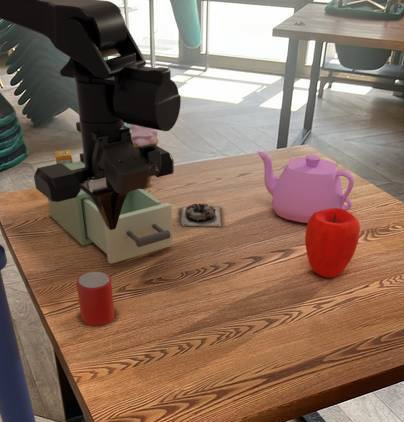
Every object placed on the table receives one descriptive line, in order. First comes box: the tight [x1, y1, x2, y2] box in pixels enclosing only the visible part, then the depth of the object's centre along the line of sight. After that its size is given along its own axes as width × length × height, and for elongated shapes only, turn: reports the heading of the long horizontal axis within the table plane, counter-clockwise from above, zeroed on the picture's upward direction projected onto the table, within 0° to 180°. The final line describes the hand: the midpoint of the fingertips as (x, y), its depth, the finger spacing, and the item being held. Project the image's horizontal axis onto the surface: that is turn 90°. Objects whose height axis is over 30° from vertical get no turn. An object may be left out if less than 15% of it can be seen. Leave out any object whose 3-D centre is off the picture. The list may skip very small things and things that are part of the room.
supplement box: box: [54, 149, 74, 165], centre depth 116 cm, size 3×3×10 cm
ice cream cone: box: [128, 124, 159, 188], centre depth 121 cm, size 7×6×15 cm
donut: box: [180, 202, 222, 227], centre depth 114 cm, size 8×8×2 cm
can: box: [75, 271, 115, 327], centre depth 85 cm, size 5×5×6 cm
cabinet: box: [47, 160, 146, 247], centre depth 109 cm, size 15×14×10 cm
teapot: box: [256, 150, 355, 224], centre depth 113 cm, size 20×13×12 cm, turn 72°
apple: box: [304, 208, 361, 279], centre depth 96 cm, size 9×9×11 cm
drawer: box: [81, 189, 173, 265], centre depth 101 cm, size 18×12×8 cm
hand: (111, 228), depth 83 cm, fingers closed
